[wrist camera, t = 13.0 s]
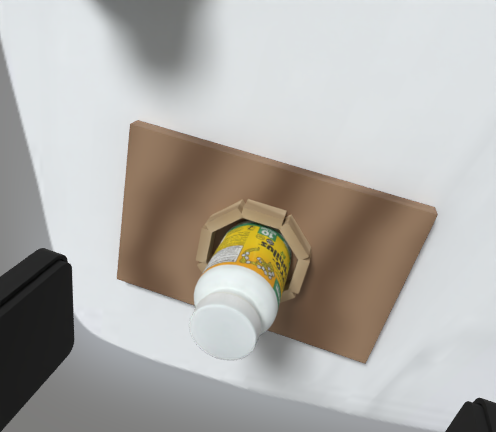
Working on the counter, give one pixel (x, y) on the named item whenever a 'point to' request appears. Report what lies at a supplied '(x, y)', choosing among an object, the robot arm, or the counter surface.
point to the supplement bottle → (240, 290)
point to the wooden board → (274, 215)
